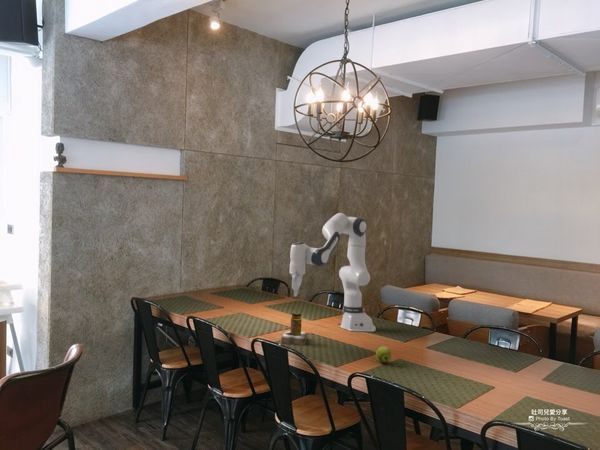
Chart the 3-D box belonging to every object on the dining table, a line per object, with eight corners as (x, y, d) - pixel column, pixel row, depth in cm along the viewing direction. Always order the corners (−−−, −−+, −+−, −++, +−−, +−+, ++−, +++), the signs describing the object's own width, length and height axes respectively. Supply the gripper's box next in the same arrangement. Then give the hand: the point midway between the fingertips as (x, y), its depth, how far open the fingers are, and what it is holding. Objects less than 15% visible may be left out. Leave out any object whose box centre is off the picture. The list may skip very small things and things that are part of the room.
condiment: (303, 335, 282) (304, 314, 281) (291, 337, 277) (292, 315, 277) (296, 332, 288) (297, 311, 287) (284, 333, 283) (285, 312, 283)
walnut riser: (306, 338, 290) (306, 331, 290) (304, 344, 277) (304, 337, 277) (284, 337, 291) (284, 330, 291) (281, 343, 278) (281, 336, 278)
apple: (388, 359, 258) (389, 344, 257) (392, 365, 249) (393, 349, 248) (373, 359, 257) (374, 344, 257) (377, 365, 248) (378, 349, 248)
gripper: (301, 273, 271) (300, 298, 272) (304, 268, 292) (303, 291, 292) (289, 272, 272) (288, 298, 273) (293, 267, 292) (292, 291, 293)
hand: (296, 294), depth 283 cm, fingers open, 8 cm apart
